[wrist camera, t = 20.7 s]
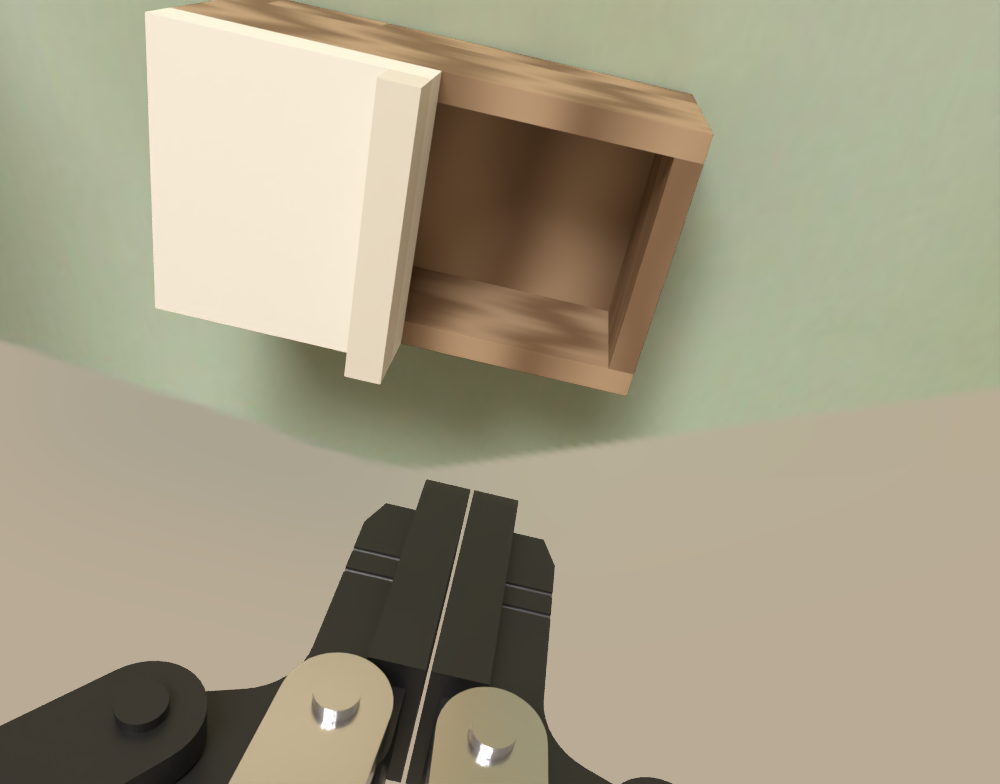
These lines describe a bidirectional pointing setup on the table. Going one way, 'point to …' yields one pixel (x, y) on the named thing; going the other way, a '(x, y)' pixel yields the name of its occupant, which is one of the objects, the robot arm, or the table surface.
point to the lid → (286, 183)
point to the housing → (530, 198)
